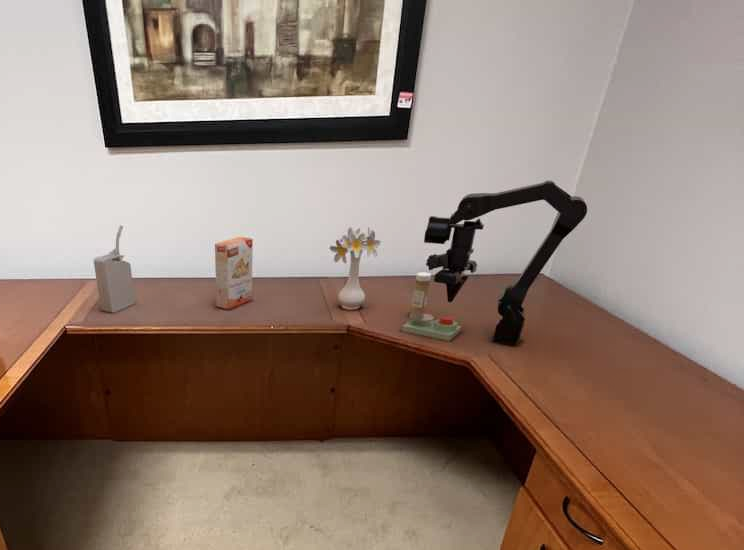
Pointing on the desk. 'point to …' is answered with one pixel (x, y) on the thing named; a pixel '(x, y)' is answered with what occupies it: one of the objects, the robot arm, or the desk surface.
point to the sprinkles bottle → (420, 292)
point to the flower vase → (354, 264)
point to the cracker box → (233, 272)
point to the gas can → (114, 280)
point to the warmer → (432, 329)
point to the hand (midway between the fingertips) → (449, 301)
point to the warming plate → (421, 317)
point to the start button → (446, 320)
